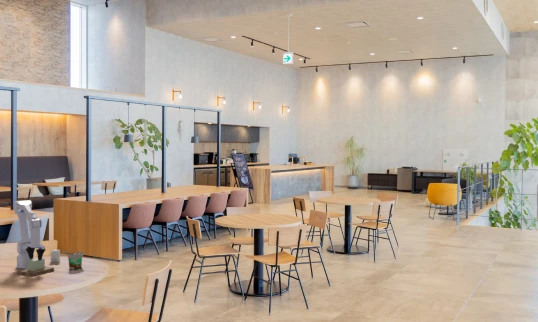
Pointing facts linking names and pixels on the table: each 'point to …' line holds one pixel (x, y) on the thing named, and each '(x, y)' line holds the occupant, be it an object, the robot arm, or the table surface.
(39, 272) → the walnut stand
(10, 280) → the table surface
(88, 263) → the table surface
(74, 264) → the food container
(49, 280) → the table surface
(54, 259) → the white rounded canister
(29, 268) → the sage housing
